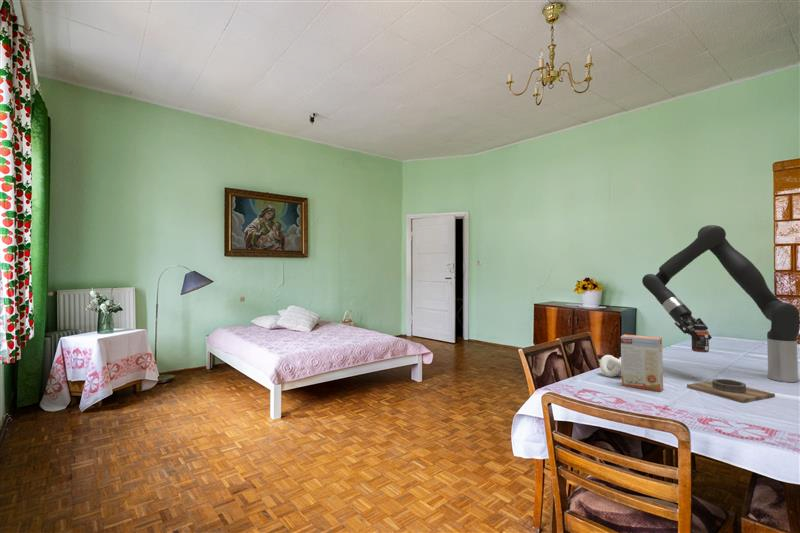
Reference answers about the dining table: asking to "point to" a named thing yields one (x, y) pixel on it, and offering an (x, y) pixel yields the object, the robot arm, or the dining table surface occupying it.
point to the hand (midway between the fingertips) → (704, 339)
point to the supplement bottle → (704, 342)
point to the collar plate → (730, 395)
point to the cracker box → (642, 362)
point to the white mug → (610, 366)
